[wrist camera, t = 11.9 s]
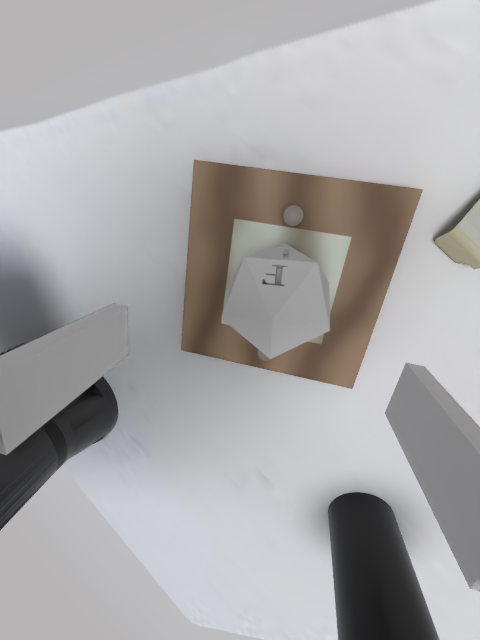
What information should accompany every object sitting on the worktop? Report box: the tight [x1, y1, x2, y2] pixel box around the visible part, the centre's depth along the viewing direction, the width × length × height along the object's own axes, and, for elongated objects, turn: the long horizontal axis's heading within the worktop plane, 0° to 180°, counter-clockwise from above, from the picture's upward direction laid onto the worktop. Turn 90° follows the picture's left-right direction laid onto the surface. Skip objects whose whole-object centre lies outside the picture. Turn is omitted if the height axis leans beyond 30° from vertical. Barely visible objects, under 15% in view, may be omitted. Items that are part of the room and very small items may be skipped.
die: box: [221, 243, 330, 359], centre depth 23 cm, size 8×9×10 cm
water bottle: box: [328, 493, 439, 640], centre depth 27 cm, size 10×10×23 cm
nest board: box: [181, 160, 423, 389], centre depth 27 cm, size 20×20×4 cm
